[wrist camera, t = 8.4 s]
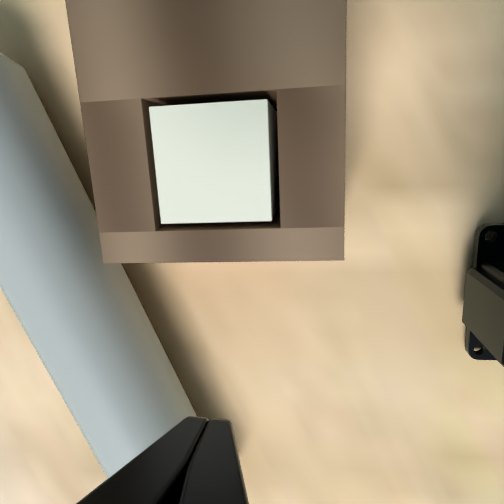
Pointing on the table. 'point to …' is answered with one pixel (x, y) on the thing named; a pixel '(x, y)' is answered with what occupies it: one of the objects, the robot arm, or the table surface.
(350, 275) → the table surface
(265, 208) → the peg cream
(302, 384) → the table surface
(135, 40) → the walnut block
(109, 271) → the tube
